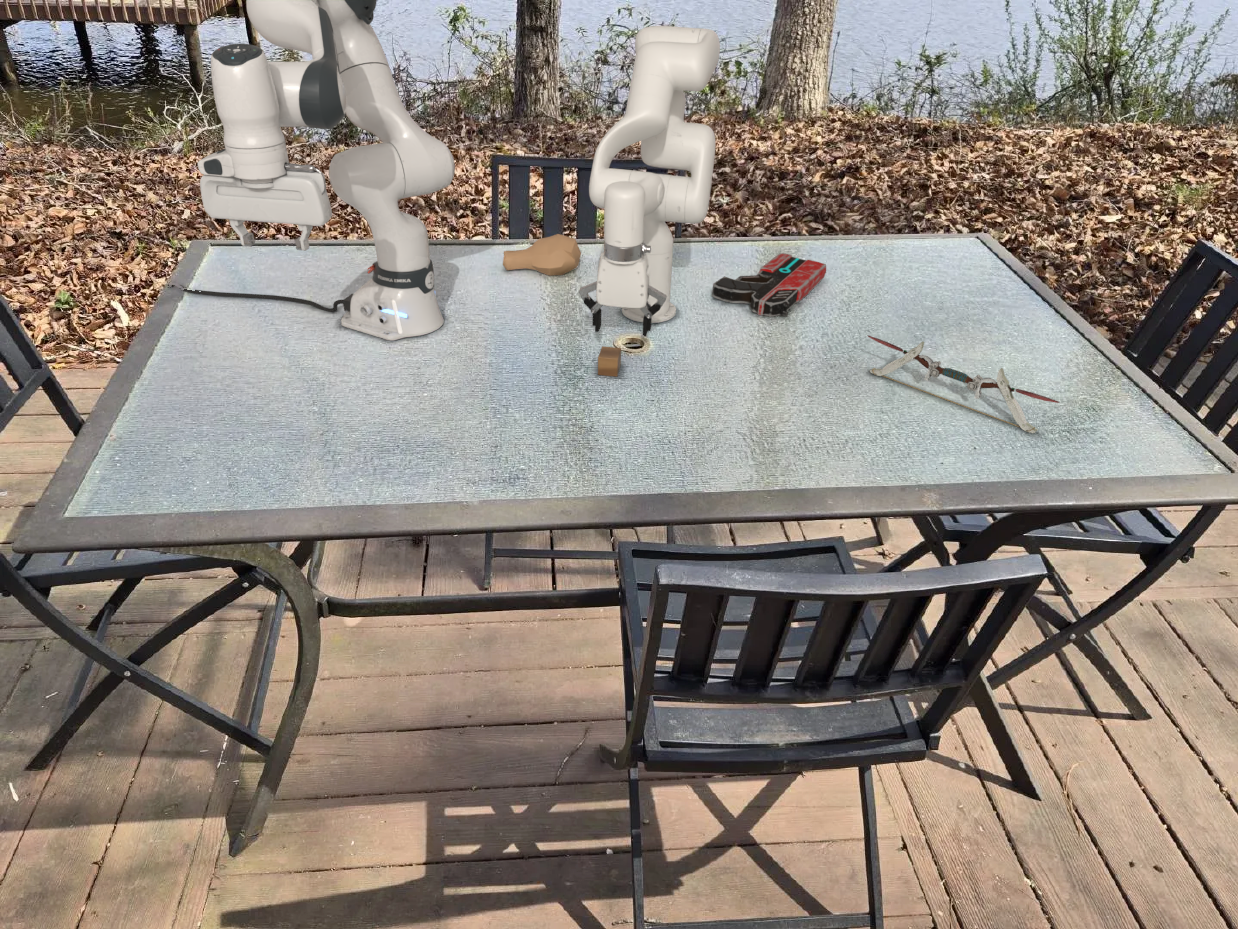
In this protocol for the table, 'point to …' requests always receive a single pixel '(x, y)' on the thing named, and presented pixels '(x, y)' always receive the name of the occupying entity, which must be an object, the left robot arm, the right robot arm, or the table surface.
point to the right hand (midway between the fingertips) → (621, 331)
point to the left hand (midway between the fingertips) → (275, 247)
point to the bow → (972, 384)
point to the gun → (772, 285)
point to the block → (609, 361)
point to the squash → (546, 256)
